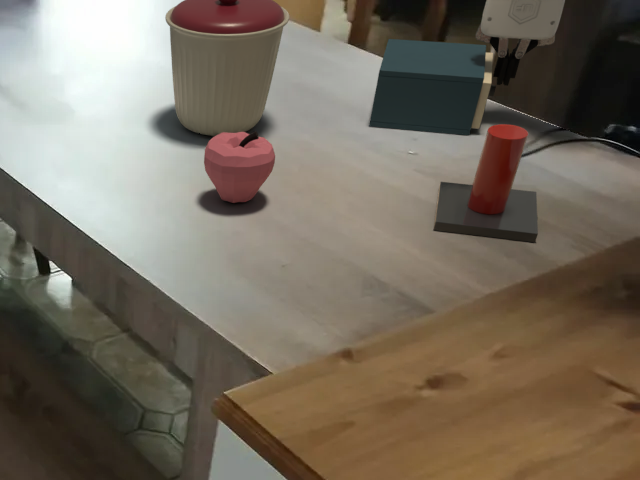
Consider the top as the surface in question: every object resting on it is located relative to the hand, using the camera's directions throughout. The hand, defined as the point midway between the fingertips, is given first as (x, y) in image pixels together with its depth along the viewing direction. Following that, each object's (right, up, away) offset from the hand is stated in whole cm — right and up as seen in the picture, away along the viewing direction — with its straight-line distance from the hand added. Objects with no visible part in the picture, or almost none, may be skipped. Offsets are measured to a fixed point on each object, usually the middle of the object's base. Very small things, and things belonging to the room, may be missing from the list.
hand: (502, 81), depth 140 cm
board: (-12, -25, -19) cm, 34 cm away
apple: (-43, -21, -12) cm, 50 cm away
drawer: (-7, -2, +6) cm, 9 cm away
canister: (-42, -4, +8) cm, 43 cm away
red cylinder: (-12, -24, -20) cm, 33 cm away
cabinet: (-9, -2, +7) cm, 12 cm away
